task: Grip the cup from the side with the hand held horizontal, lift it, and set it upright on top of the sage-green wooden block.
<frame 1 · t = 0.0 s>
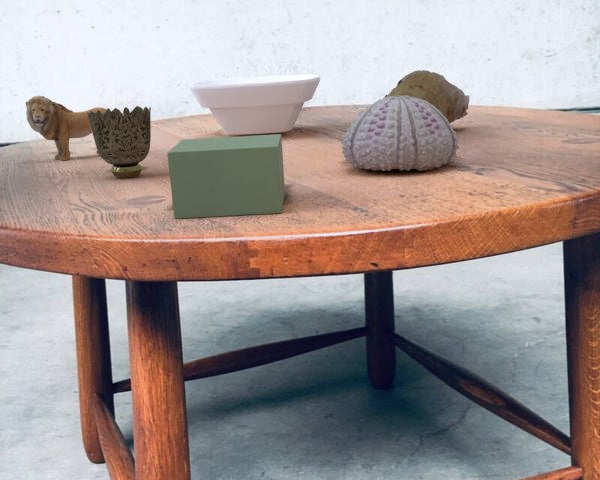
lion figurine: (82, 159, 131), on the table
bowl: (259, 136, 146), on the table
cup: (127, 178, 111), on the table
sea urchin shell: (400, 169, 105), on the table
mineral: (410, 140, 131), on the table
block: (232, 206, 88), on the table
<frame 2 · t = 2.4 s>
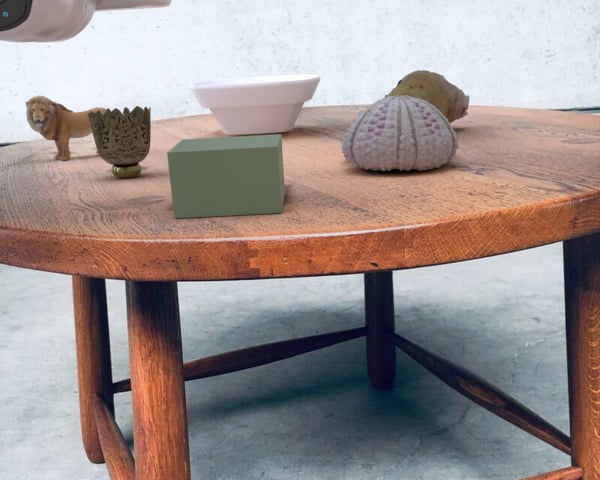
nothing on the table moved.
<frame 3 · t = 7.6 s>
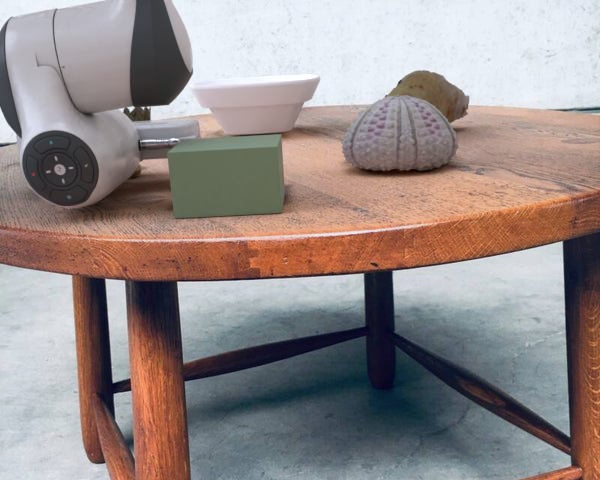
hand: (123, 133, 109), 5 cm above the table, tool horizontal, fingers closed on cup, 7 cm apart
cup: (127, 178, 111), on the table, touching gripper
everything else where it was.
when the fingers open (11 cm above the table, at t = 15.9 s): cup stays where it is, resting on block.
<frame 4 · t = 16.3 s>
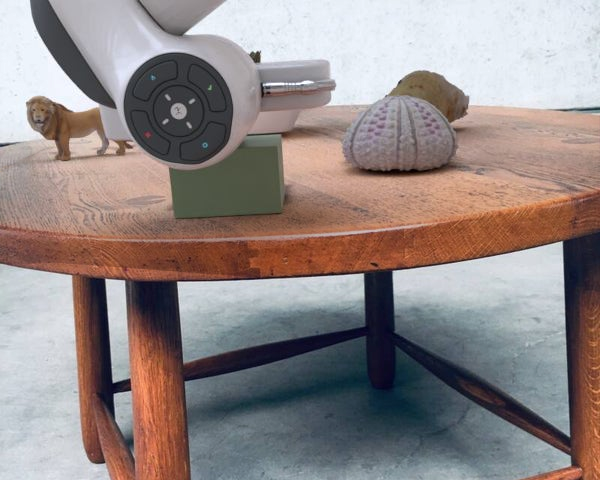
hand: (222, 83, 84), 11 cm above the table, tool horizontal, fingers open, 8 cm apart
cup: (227, 144, 86), point 6 cm above the table, touching block
everything else where it was.
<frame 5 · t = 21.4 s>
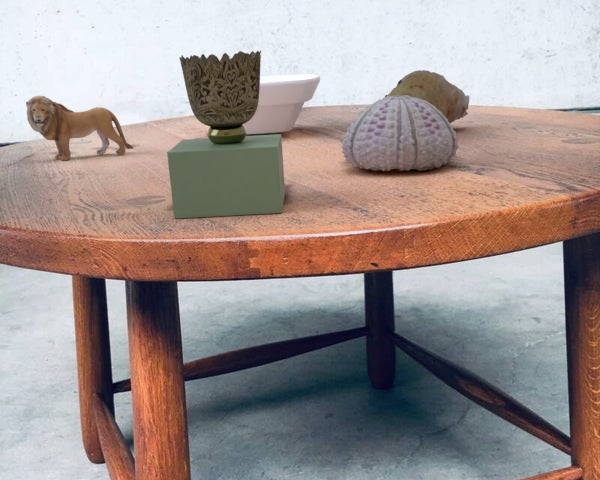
nothing on the table moved.
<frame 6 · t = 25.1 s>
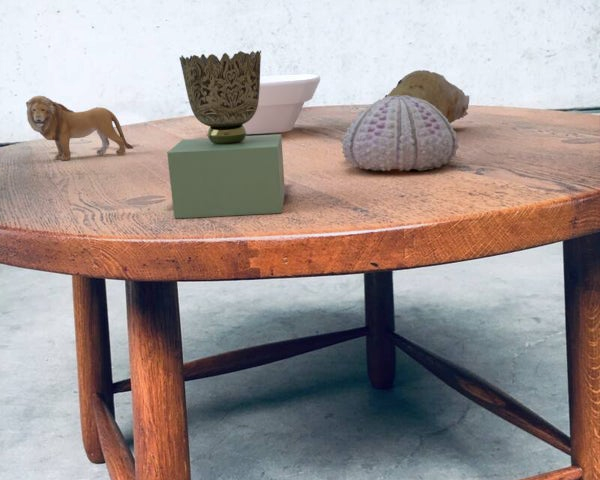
nothing on the table moved.
at the end: cup 0.1 cm off-centre on the block, point 5.8 cm above the block's base; cup tilted 0°; the gripper is holding nothing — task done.
